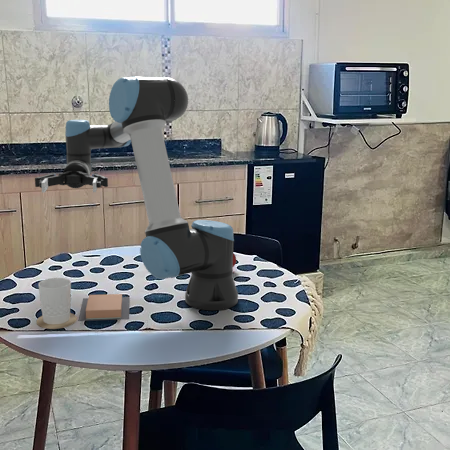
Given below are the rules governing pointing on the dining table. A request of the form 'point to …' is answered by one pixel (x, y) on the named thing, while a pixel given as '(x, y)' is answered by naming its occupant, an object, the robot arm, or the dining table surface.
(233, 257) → the onion
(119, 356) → the dining table surface
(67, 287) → the white cup
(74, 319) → the coaster
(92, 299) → the tile
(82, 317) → the mat
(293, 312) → the dining table surface
